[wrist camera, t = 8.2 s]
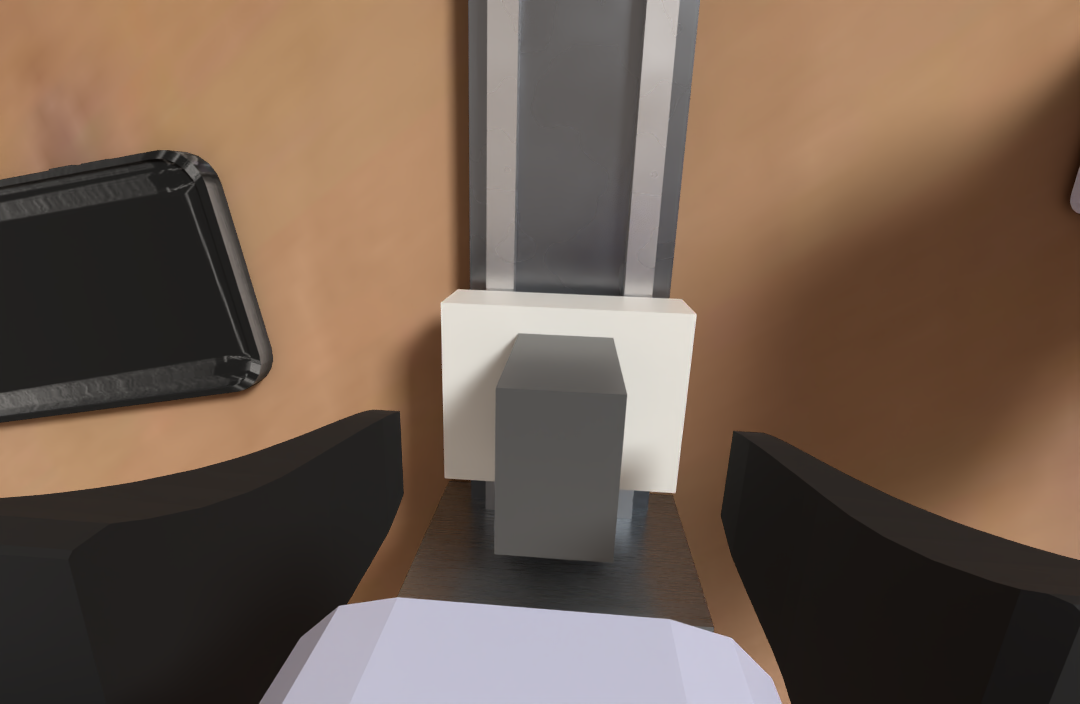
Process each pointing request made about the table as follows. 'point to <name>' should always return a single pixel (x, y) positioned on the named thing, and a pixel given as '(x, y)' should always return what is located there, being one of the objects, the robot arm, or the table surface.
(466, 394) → the carriage
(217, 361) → the phone
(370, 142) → the table surface
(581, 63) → the rail base
